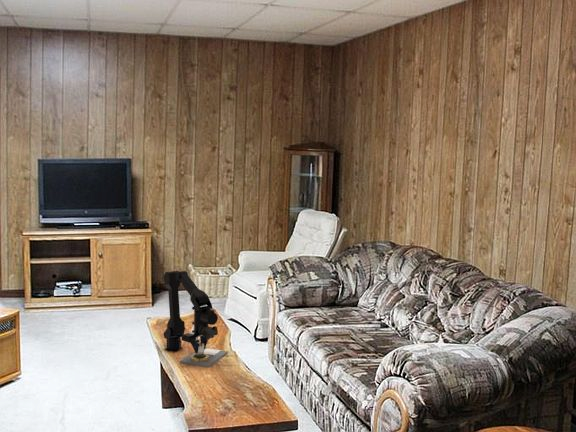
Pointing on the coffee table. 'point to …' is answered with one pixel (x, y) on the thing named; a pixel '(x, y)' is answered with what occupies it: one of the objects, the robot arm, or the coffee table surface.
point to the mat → (211, 351)
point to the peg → (200, 350)
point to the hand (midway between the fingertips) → (199, 352)
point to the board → (208, 363)
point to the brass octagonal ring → (194, 359)
